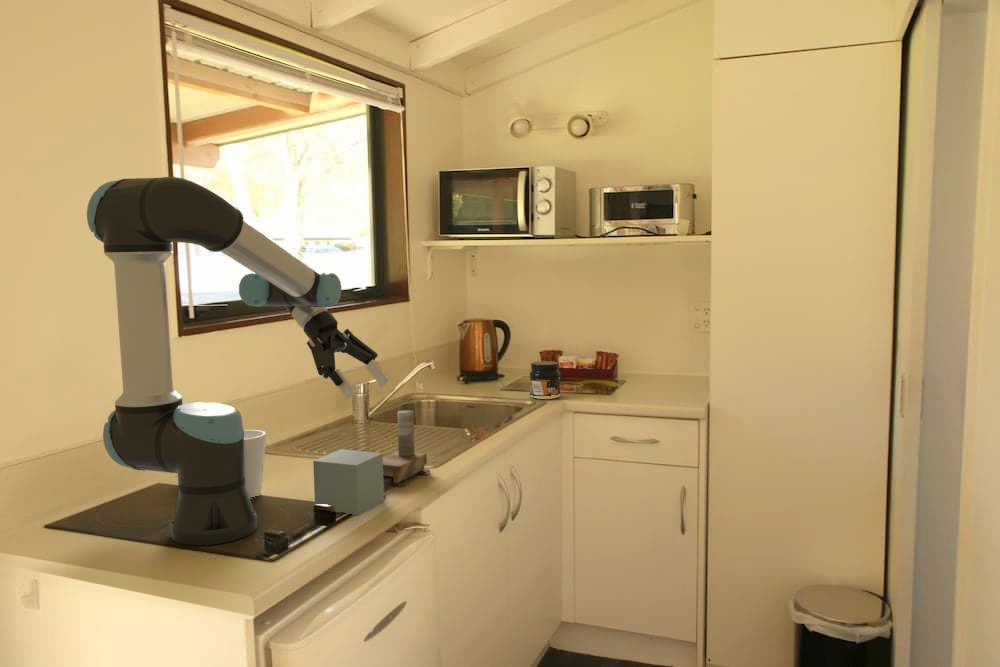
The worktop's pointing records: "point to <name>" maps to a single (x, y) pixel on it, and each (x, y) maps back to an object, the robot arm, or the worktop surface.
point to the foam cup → (254, 460)
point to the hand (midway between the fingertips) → (369, 389)
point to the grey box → (349, 480)
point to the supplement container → (544, 378)
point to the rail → (390, 481)
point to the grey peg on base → (404, 451)
